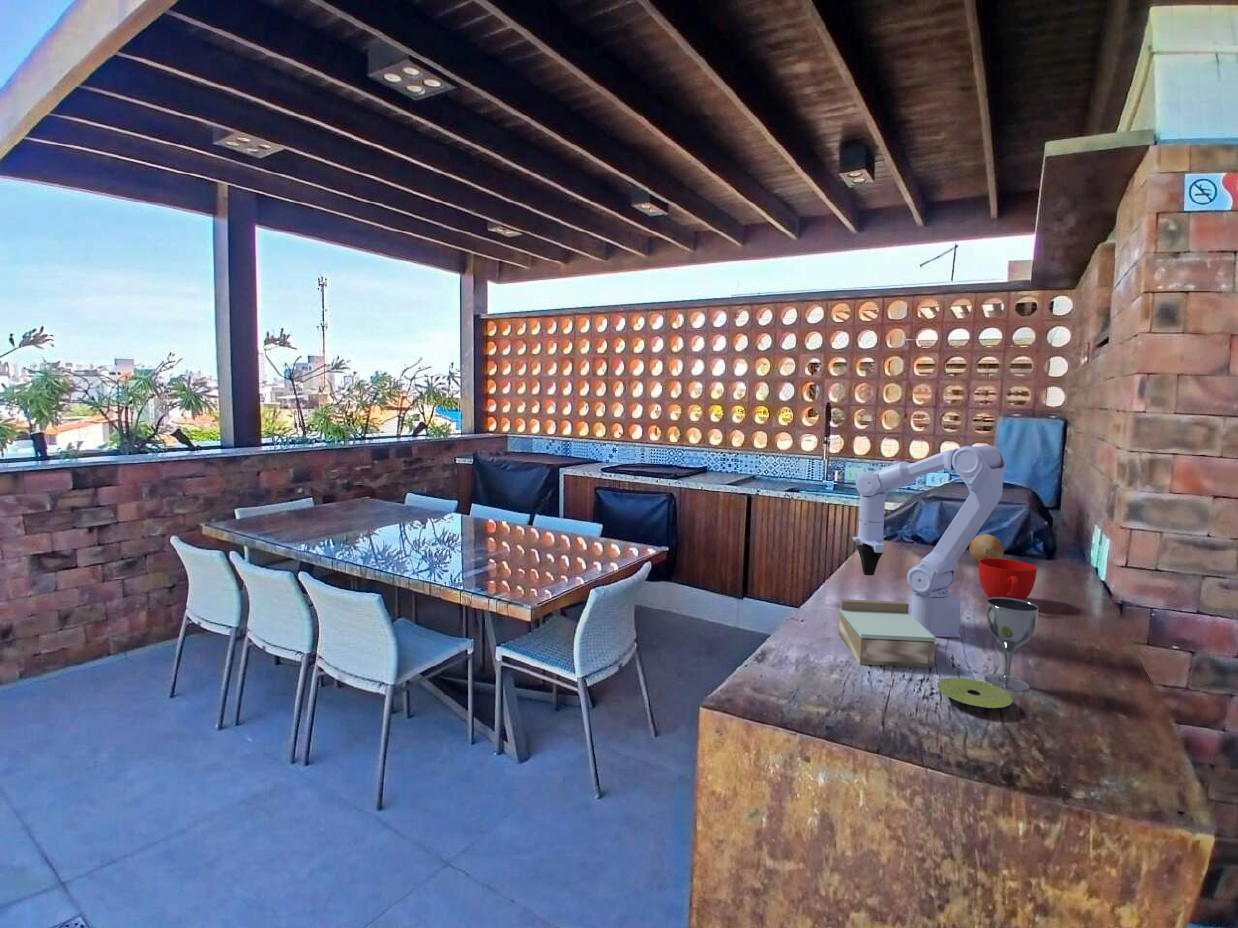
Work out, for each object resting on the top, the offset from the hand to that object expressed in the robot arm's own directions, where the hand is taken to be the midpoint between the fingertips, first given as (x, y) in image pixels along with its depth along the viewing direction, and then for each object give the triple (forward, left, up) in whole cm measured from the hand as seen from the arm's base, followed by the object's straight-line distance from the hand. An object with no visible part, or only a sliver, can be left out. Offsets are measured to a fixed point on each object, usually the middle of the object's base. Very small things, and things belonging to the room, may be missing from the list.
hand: (868, 574), depth 152 cm
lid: (+4, +25, -4) cm, 26 cm away
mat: (-4, +47, -10) cm, 48 cm away
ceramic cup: (-39, -12, -10) cm, 42 cm away
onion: (-54, -55, -10) cm, 78 cm away
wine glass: (-14, +38, -10) cm, 42 cm away
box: (+4, +25, -9) cm, 27 cm away
